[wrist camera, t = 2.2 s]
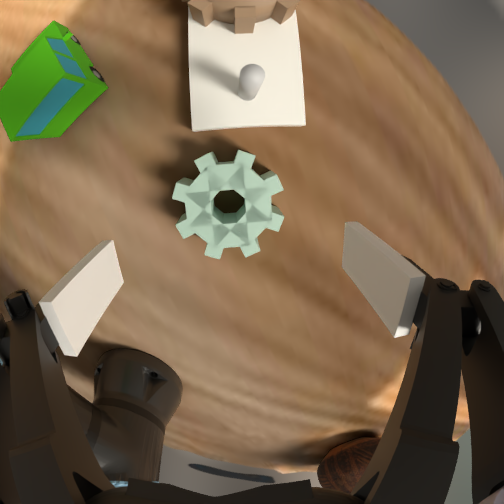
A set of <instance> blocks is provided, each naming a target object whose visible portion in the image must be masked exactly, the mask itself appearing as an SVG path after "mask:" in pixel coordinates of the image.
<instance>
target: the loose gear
mask: <svg viewBox="0 0 504 504" xmlns="http://www.w3.org/2000/svg"><path fill="white" fill-rule="evenodd" d="M254 159H255V155H253V154H250V153H247V152H244V151H241V150H238V151H237V153H236V156H235V159H234V161H227V162H218V160H217V158H216V156H215V154H214V152H210V153H208V154H206V155H204V156H202V157H200V158H198V159H196V160H195V161H194V162H195V164H196V166H197V167H198V169H199V171H200V174H199V176H198V177H197V178H196V179H195V180H192V179H188V178H185V177H184V178H182V179H181V180H179V181H178V182H176V186H175V189H174V193H173V196H172V199H174V200H178V201H181V202H184V203H185V208H186V213H184V214H183V215H182V216H181V218H180V219H179V220H178V222H177V223H176V227H177V229H178V230H179V232H180V234H181V235H182V237H183V239H185V238H187V237H189V236H190V235H192V234H194V233H196V234H197V235H198V236H199V237H201V238H202V239H203V240H204V241H206V242H207V246H206V250H205V254H204V255H206V256H210V257H213V258H216V259H220V257H221V254H222V251H223V248H228V247H240V248H241V250H242V252H243V253H244V255H245V257H248V256H250V255H252V254H254V253H256V252H259V251H260V247H259V243H258V239H257V237H258V235H259V234H260V233H261V232H262V231H263V230H264V229H265V228H268V229H271V230H275V231H279V229H280V226H281V224H282V221H283V219H284V215H283V214H282V212H281V211H280V209H279V208H278V207H276V206H273V205H271V196H272V195H274V194H276V193H278V192H280V191H282V190H284V189H283V187H282V185H281V183H280V181H279V179H278V176H277V174H275V173H274V172H272V171H271V170H270V171H268V172H266V173H264V174H262V175H258V174H257V173H256V172H255V171H254V170H253V169H252V168H251V167H252V164H253V162H254ZM223 190H235V191H237V192H238V193H239V194H240V195H241V196H242V197H244V204H243V205H242V207H241V208H240V209H239V210H238V211H237V212H236V213H223V212H222V211H220V210H219V209H218V208H217V207H215V205H214V197H215V196H216V194H217V193H218V192H219V191H223Z"/></svg>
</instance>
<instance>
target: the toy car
mask: <svg viewBox="0 0 504 504" xmlns="http://www.w3.org/2000/svg"><path fill="white" fill-rule="evenodd" d="M80 45H81V44H80V42H79V41H78V39H77V38H76V37H75V36H74V35H73V34H72V33H71V32H70V31H69V29H68V28H67V27H65V26H63V25H61V24H59V23H57V22H56V21H52V22H51V23H50V24H49V25H48V26H47V27H46V28H45V30H44V31H43V32H42V33H41V34H40V35H39V36H38V37H37V38H36V39H35V40H34V41H33V42H32V44H31V45H30V46H29V47H28V48H27V49H26V51H25V52H24V53H23V54H22V55H21V57H20V58H19V59H18V60H17V62H16V63H15V64H14V65H13V67H12V68H11V70H12V75H11V77H10V78H9V79H8V81H7V82H6V84H5V85H4V86H3V88H2V89H1V91H0V118H1V121H2V123H3V126H4V128H5V130H6V132H7V135H8V137H9V139H10V141H11V142H12V141H20V140H29V139H40V138H52V137H60V136H61V135H62V134H63V133H64V132H65V130H66V129H67V128H68V127H69V126H70V125H71V124H72V123H73V122H74V121H75V120H76V119H77V118H78V116H79V115H80V114H81V113H82V112H83V111H84V110H85V109H86V108H87V107H88V106H89V105H90V104H91V103H93V102H94V101H95V100H96V99H97V98H98V97H99V96H100V95H101V94H102V93H103V92H104V91H105V90H107V89H108V87H107V85H106V84H105V82H104V79H103V78H102V76H101V75H100V73H99V72H98V71H97V70H96V69H95V68H93V64H92V63H91V61H90V59H89V58H88V56H87V55H86V53H85V52H84V50H83V49H82V47H81V46H80Z"/></svg>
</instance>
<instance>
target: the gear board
mask: <svg viewBox="0 0 504 504" xmlns="http://www.w3.org/2000/svg"><path fill="white" fill-rule="evenodd" d="M181 1H182V2H185V1H188V46H189V80H190V102H191V119H192V131H194V132H198V131H207V130H218V129H230V128H246V127H271V126H304V125H305V106H304V90H303V77H302V65H301V54H300V44H299V35H298V26H297V18H296V10H295V9H296V7H297V5H298V4H299V2H300V0H181Z"/></svg>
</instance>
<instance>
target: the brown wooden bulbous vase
mask: <svg viewBox="0 0 504 504" xmlns="http://www.w3.org/2000/svg"><path fill="white" fill-rule="evenodd" d="M380 440H381V438H368V437H363V438H358V439H355V440H352V441H349V442H346V443H344V444H342V445H339V446H337V447H335V448H333V449H332V450H331V451H329V453H328V454H327V455H326V456H325V458H324V459H323V460H322V461H321V463H320V465H319V467H318V470H317V475H318V480H319V482H320V484H321V486H322V487H323V488H328V489H333V490H338V491H342V492H345V493H348V494H350V493H351V492H352V490H353V489H354V487H355V485H356V484H357V482H358V481H359V480H360V478H361V477H362V475H363V474H364V472H365V470H366V468H367V467H368V465H369V463H370V461H371V459H372V457H373V455H374V453H375V450H376V448H377V446H378V444H379V442H380Z"/></svg>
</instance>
